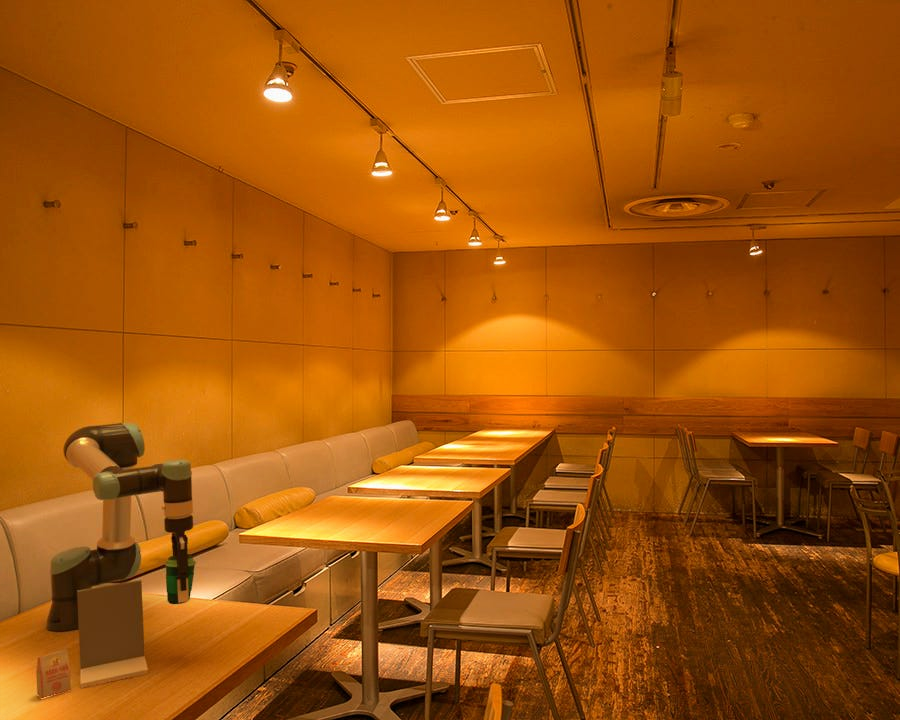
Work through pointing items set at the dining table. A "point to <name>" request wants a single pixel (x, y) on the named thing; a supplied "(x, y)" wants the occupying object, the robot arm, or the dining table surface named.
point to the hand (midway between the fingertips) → (181, 597)
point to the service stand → (111, 633)
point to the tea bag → (53, 674)
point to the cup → (173, 573)
